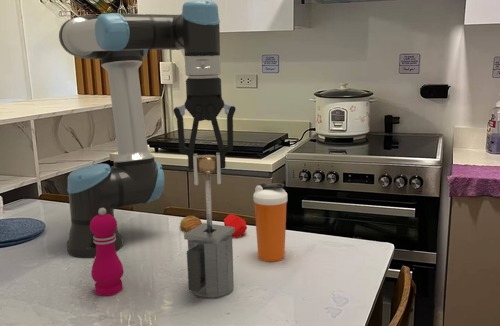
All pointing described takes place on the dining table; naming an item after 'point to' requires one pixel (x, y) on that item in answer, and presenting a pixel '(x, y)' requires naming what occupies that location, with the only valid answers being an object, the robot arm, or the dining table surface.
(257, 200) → the shaker bottle
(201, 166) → the plunger
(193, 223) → the pastry
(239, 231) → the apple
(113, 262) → the pepper mill
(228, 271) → the faceted grey canister
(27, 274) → the dining table surface
